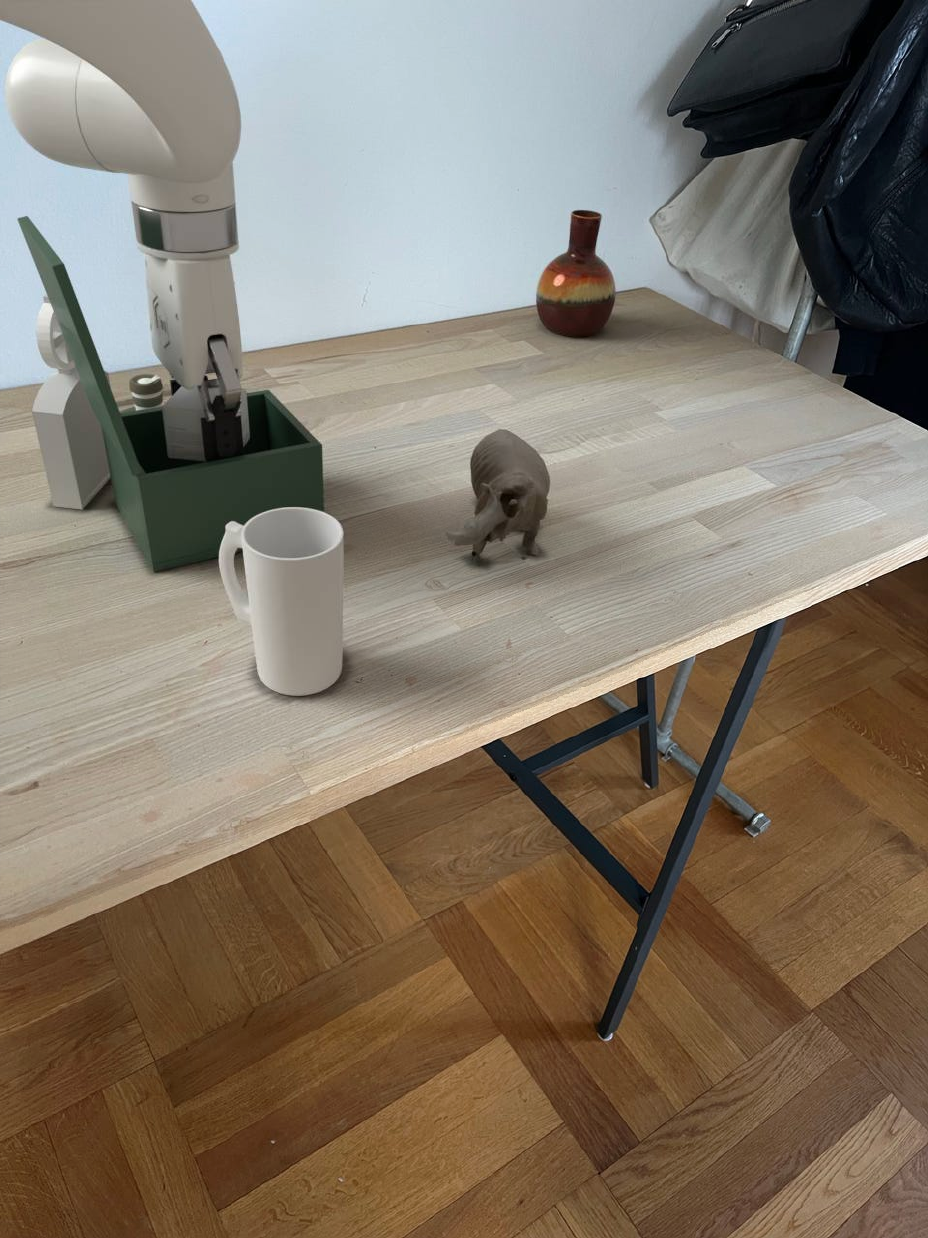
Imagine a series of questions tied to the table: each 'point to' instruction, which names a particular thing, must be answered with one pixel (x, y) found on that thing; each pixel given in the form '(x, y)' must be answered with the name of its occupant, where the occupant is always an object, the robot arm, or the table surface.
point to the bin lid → (79, 341)
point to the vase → (577, 283)
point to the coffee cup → (145, 392)
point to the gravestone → (67, 422)
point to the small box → (192, 423)
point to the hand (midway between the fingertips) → (208, 438)
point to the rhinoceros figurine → (505, 493)
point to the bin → (212, 482)
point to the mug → (290, 595)
